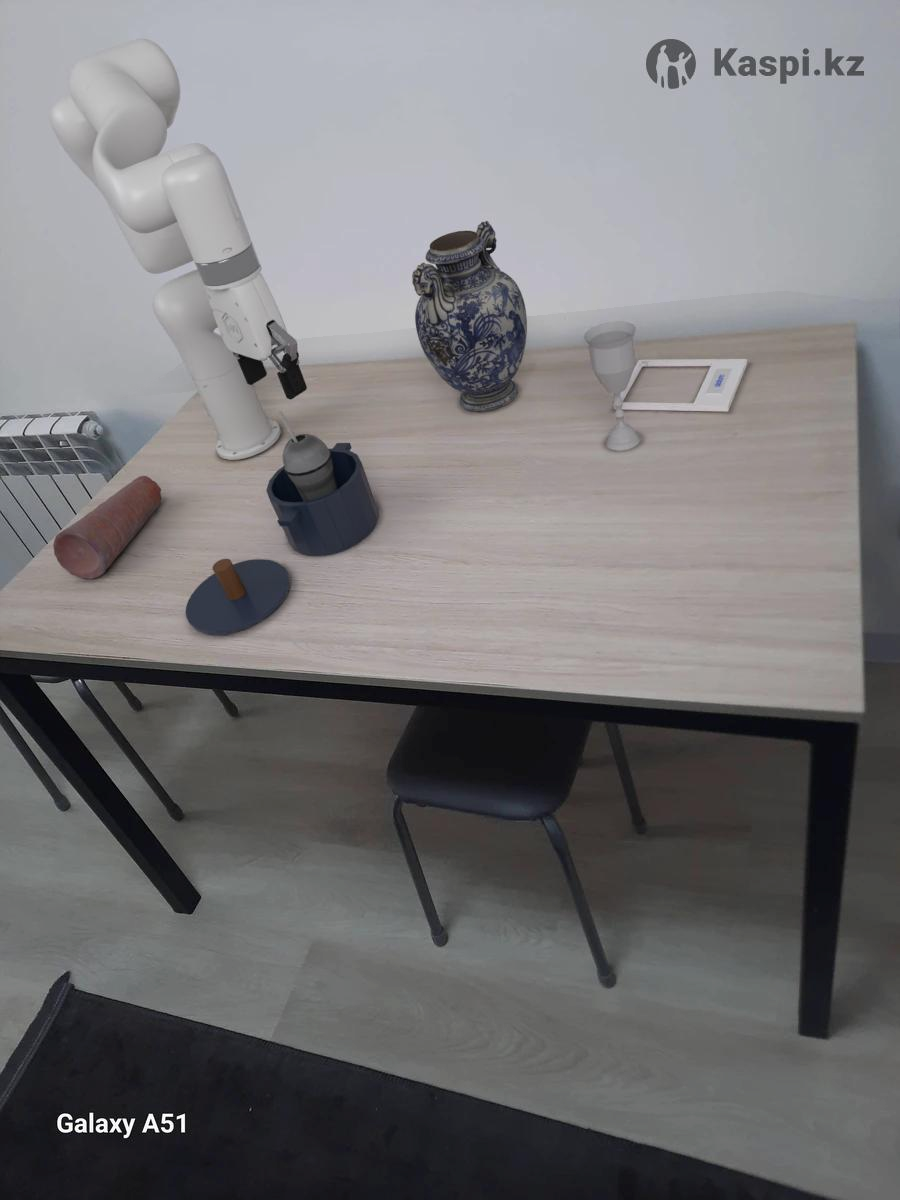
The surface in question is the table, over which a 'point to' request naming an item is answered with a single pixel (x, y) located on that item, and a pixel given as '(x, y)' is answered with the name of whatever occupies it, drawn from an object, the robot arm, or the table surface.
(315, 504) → the pot
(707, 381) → the photo frame
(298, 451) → the beverage cup
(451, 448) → the table surface
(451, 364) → the decorative vase
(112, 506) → the food
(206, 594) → the lid
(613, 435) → the chalice
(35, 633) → the table surface
